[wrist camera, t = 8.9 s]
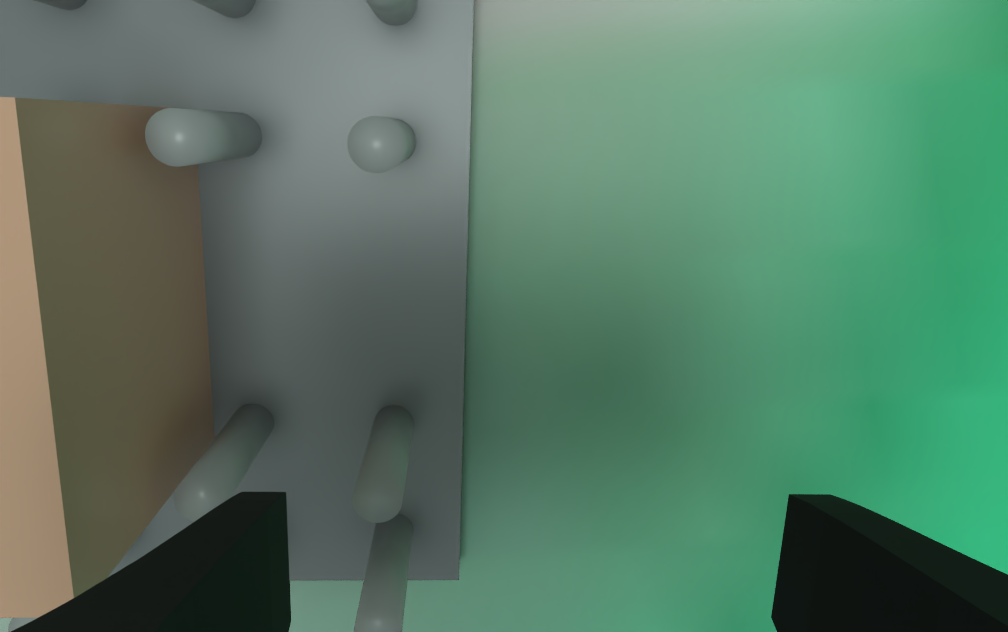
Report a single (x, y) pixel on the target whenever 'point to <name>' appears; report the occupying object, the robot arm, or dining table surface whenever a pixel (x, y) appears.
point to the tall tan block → (93, 343)
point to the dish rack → (305, 254)
